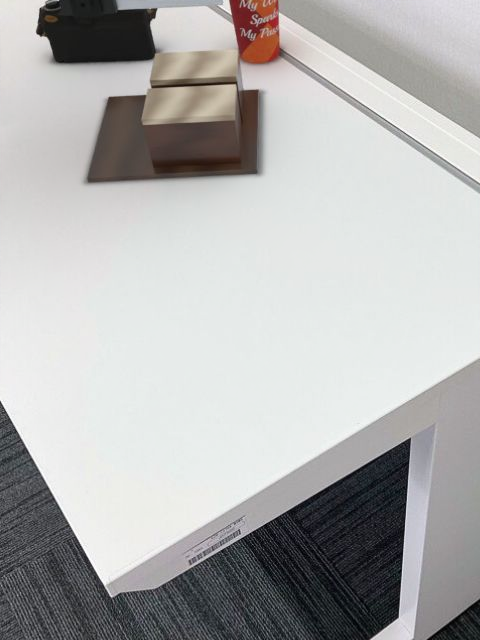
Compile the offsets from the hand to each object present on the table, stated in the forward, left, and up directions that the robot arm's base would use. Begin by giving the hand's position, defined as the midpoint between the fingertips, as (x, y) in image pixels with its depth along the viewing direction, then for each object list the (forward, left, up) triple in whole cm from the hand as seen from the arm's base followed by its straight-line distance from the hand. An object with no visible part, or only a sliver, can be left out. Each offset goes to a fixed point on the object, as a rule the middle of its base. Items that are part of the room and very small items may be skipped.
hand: (90, 9), depth 87 cm
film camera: (-7, +26, -18) cm, 33 cm away
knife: (+6, 0, 0) cm, 6 cm away
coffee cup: (+17, +22, -18) cm, 34 cm away
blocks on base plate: (+7, +1, -18) cm, 19 cm away
